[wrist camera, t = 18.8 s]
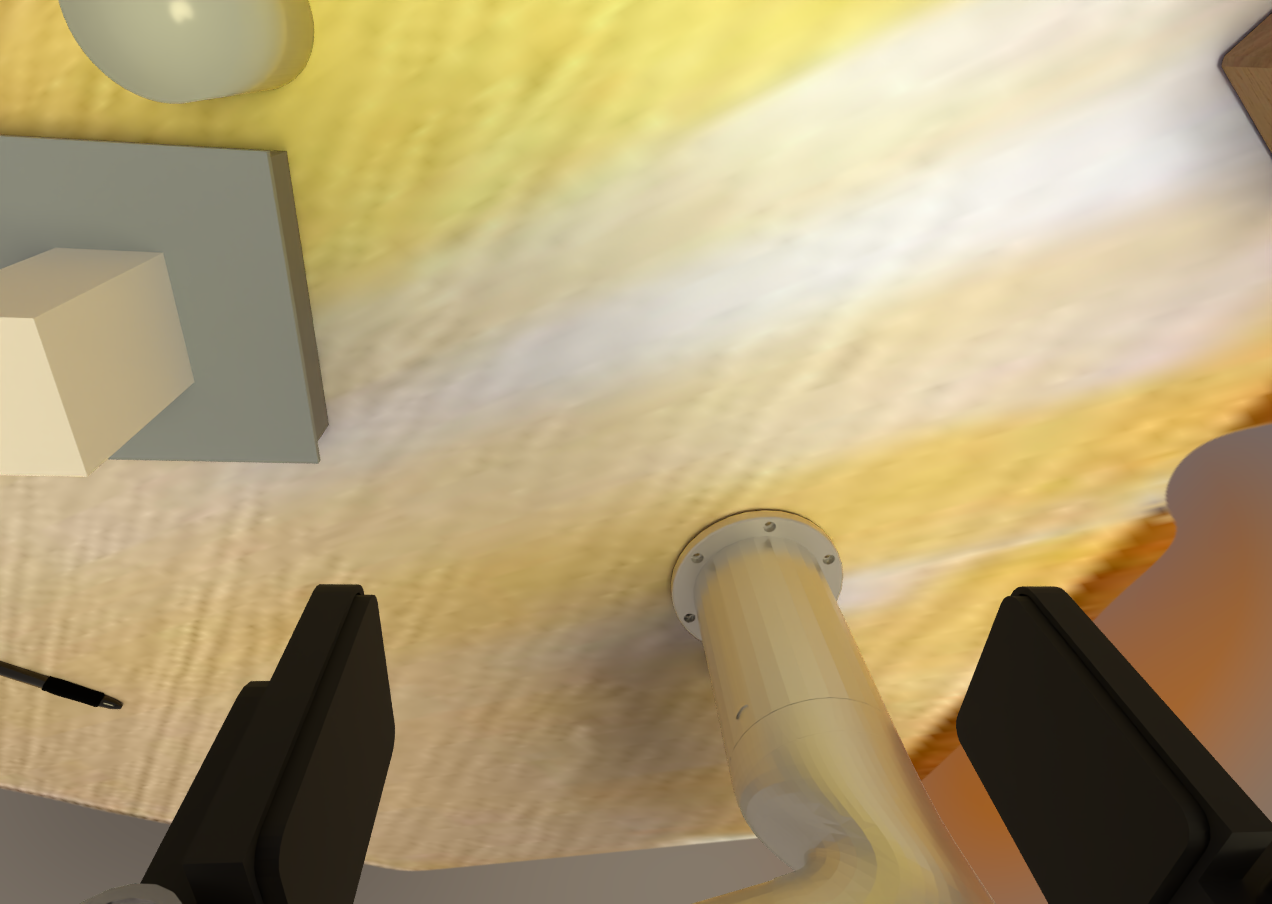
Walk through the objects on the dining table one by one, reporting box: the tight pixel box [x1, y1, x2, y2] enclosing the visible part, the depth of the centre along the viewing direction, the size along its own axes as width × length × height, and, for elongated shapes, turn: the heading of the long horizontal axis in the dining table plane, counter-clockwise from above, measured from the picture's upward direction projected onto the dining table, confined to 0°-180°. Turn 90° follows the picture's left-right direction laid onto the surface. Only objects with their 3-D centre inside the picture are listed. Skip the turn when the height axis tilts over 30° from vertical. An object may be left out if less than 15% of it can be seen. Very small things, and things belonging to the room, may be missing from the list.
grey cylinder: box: [59, 0, 314, 103], centre depth 31 cm, size 6×6×9 cm
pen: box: [0, 661, 123, 709], centre depth 54 cm, size 14×2×1 cm, turn 57°
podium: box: [0, 135, 329, 464], centre depth 40 cm, size 17×17×4 cm
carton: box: [0, 248, 194, 477], centre depth 34 cm, size 5×7×10 cm
